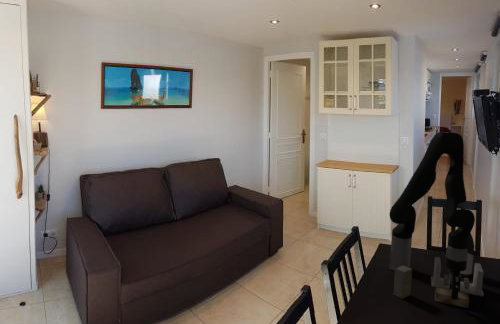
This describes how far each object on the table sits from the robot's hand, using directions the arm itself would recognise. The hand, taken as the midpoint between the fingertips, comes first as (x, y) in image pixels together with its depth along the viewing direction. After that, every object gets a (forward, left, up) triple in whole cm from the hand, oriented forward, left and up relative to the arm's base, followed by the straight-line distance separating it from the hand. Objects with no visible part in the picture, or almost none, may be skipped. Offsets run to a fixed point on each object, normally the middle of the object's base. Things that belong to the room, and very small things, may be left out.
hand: (453, 293), depth 149 cm
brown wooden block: (-1, 0, -4) cm, 4 cm away
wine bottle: (+6, +31, -4) cm, 32 cm away
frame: (+2, +15, -4) cm, 16 cm away
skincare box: (-20, -3, -4) cm, 20 cm away
